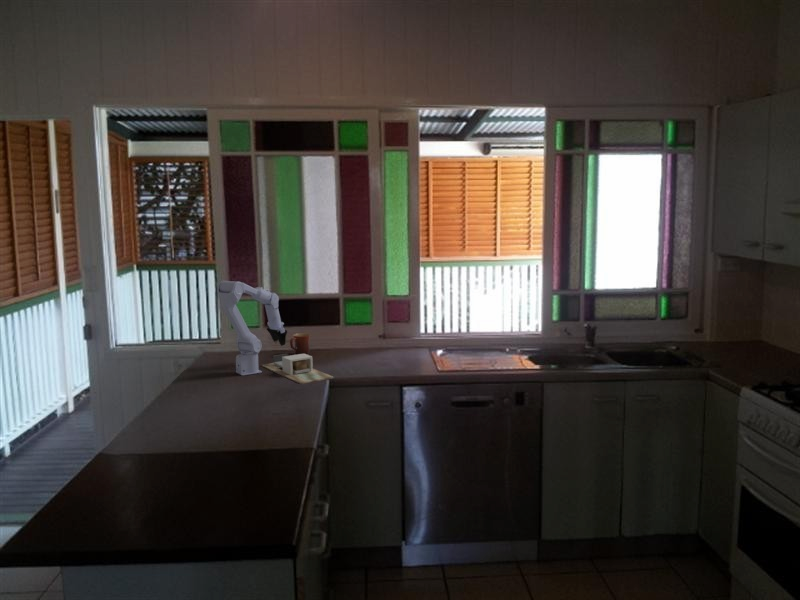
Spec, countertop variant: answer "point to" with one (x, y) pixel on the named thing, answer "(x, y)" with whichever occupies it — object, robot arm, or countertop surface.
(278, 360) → the sled
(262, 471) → the countertop surface
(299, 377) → the beige flat rectangular board
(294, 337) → the mug
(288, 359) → the tunnel
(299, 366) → the walnut block
